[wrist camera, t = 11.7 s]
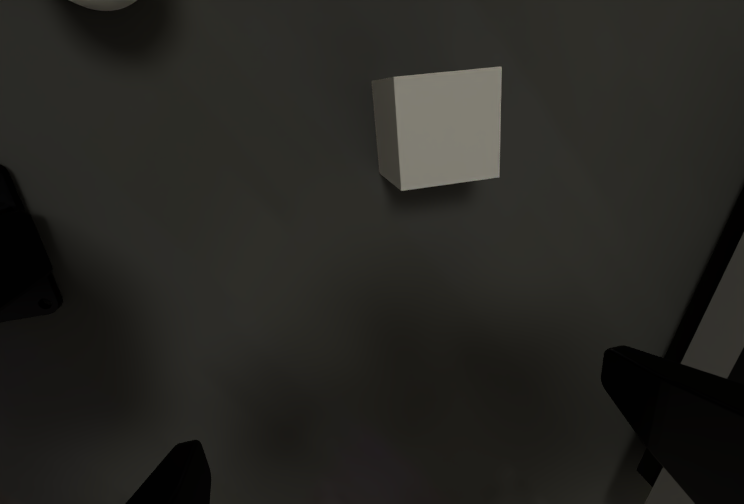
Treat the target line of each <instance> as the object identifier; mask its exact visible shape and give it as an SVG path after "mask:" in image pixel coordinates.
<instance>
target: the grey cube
mask: <svg viewBox="0 0 744 504" xmlns="http://www.w3.org/2000/svg"><path fill="white" fill-rule="evenodd" d="M501 77H502V67H491V68H481V69H471V70H460V71H450V72H440V73H429V74H419V75H409V76H398V77H391V78H385V79H380V80H374V81H371V82H372V94H373V105H374V117H375V129H376V140H377V152H378V163H379V173H380V174H381V175H382V176H383V177H385V178H386V179H387V180H388V181H390V182H391V183H392V184H393V185H395V186H396V187H397V188H398V189H400V190H401V191H405V190H412V189H419V188H426V187H433V186H440V185H448V184H455V183H462V182H469V181H476V180H483V179H490V178H498V177H499V168H500V123H501Z"/></svg>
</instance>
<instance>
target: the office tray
mask: <svg viewBox="0 0 744 504" xmlns="http://www.w3.org/2000/svg"><path fill="white" fill-rule="evenodd" d="M665 359H668V360H671V361H674V362H677V363H680V364H683V365H686V366H689V367H692V368H695V369H698V370H702V371H705V372H708V373H711V374H714V375H717V376H720V377H723V378H726V379H729V380H732V381H735V382H738V383H741V384H744V188H743V190H742V192H741V194H740V197H739V199H738V201H737V203H736V205H735V207H734V210H733V212H732V214H731V216H730V218H729V220H728V223H727V225H726V227H725V229H724V231H723V233H722V236H721V238H720V240H719V242H718V244H717V246H716V248H715V251H714V253H713V255H712V257H711V259H710V261H709V264H708V266H707V268H706V270H705V272H704V274H703V277H702V279H701V281H700V283H699V285H698V287H697V290H696V292H695V294H694V296H693V298H692V300H691V302H690V305H689V307H688V309H687V311H686V313H685V315H684V318H683V320H682V322H681V324H680V326H679V328H678V331H677V333H676V335H675V337H674V339H673V341H672V344H671V346H670V348H669V350H668V352H667V354H666V356H665ZM637 471H638V472H639V473H640V474H641V475H642V476H643V477H644V479H645V480H646V481H647V482H648V483H649V484H650V485H651V486H652V487H653V488H652V490H651V492H650V494H649V496H648V498H647V500H646V501H645V503H644V504H694V502H693V501H692V500H691V499H690V498H689V497H688V495H687V494H686V493H685V492H684V491H683V490H682V488H681V487H680V486H679V485H678V484H677V483H676V481H675V480H674V479H673V478H672V477H671V476H670V474H669V473H668V472H667V471H666V470H665V468H664V467H663V466H662V465H661V464H660V463H659V461H658V460H657V459H656V458H655V457H654V456H653V454H652V453H651V452H650V451H649V449H648V448H647V449H646V451H645V453H644V455H643V457H642V459H641V461H640V463H639V465H638V467H637Z"/></svg>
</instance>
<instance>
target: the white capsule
mask: <svg viewBox="0 0 744 504" xmlns="http://www.w3.org/2000/svg"><path fill="white" fill-rule="evenodd" d="M69 1H71V2H73V3H76V4H78V5H80V6H83V7H85V8H89V9H93V10H99V11H114V10H119V9H122V8H125V7H127V6H129V5H131V4H133V3H134V2H135V1H137V0H69Z"/></svg>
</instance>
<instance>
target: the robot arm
mask: <svg viewBox="0 0 744 504" xmlns="http://www.w3.org/2000/svg"><path fill="white" fill-rule="evenodd" d="M52 269H53V268H52V265H51V263H50V260H49V258H48V256H47V253H46V251H45V249H44V246H43V244H42V241H41V239H40V237H39V234H38V232H37V230H36V227H35V225H34V223H33V220H32V218H31V216H30V215H29V214H28V213H27V212H25V210H24V207H23V205H22V203H21V200H20V198H19V196H18V193H17V191H16V188H15V186H14V184H13V181H12V179H11V177H10V174H9V173H8V171H7V170H6V168H4V167H3V166H2V165H0V322H5V321H11V320H16V319H22V318H28V317H34V316H40V315H46V314H51V313H53V312H55V311H56V310H57V309H58V308H59V307H60V306H61V305H62V303H63V300H62V296H61V294H60V291H59V289H58V287H57V284H56V282H55V280H54V277H53V275H52V273H51V271H52ZM43 299H48V300H50V302H51V303H52V305H48V304H46V303H45V302H44V301H43ZM601 382H602V385H603V387H604V389H605V390H606V392H607V393H608V394H609V396H610V397H611V399H612V400H613V401H614V403H615V404H616V406H617V407H618V408H619V410H620V411H621V413H622V414H623V415H624V417H625V418H626V420H627V421H628V422H629V424H630V425H631V426H632V428H633V429H634V431H635V432H636V433H637V435H638V436H639V438H640V439H641V440H642V442H643V443H644V444H645V446H646V447H647V448H648V449H649V451H650V452H651V453H652V454H653V456H654V457H655V458H656V459H657V460H658V461H659V463H660V464H661V465H662V466H663V467H664V468H665V470H666V471H667V472H668V473H669V474H670V476H671V477H672V478H673V479H674V480H675V481H676V483H677V484H678V485H679V486H680V487H681V488H682V490H683V491H684V492H685V493H686V494H687V495H688V497H689V498H690V499H691V500H692V501H693V502H694V504H744V384H741V383H738V382H735V381H732V380H729V379H726V378H723V377H720V376H717V375H714V374H711V373H708V372H705V371H702V370H698V369H695V368H692V367H689V366H686V365H683V364H680V363H677V362H674V361H671V360H668V359H665V358H662V357H659V356H655V355H652V354H649V353H646V352H643V351H640V350H637V349H634V348H631V347H628V346H617V347H613V348H609V349H607V350H606V351H605V353H604V358H603V365H602V373H601ZM210 489H211V472H210V468H209V465H208V462H207V459H206V456H205V453H204V450H203V447H202V444H201V443H200V441H198V440H192V441H187V442H183V443H179V444H177V445H176V446H175V447H174V448H173V449H172V450H171V451H170V452H169V453H168V455H167V456H166V457H165V458H164V459H163V461H162V462H161V463H160V464H159V465H158V466H157V468H156V469H155V470H154V471H153V472H152V473H151V475H150V476H149V477H148V478H147V479H146V480H145V482H144V483H143V484H142V485H141V486H140V487H139V489H138V490H137V491H136V492H135V493H134V494H133V496H132V497H131V498H130V499H129V500H128V502H127V503H126V504H210Z"/></svg>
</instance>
